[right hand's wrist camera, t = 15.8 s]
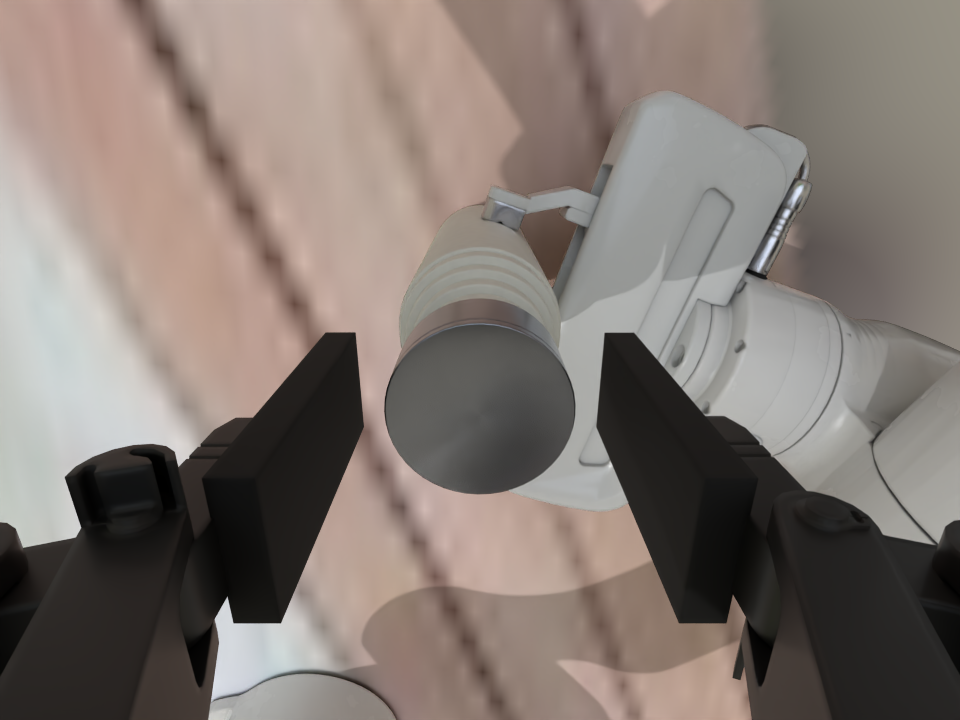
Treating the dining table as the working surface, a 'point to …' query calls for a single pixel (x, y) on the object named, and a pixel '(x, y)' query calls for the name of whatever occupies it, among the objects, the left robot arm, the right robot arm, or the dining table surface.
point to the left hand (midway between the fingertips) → (462, 271)
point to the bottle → (479, 272)
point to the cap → (480, 398)
